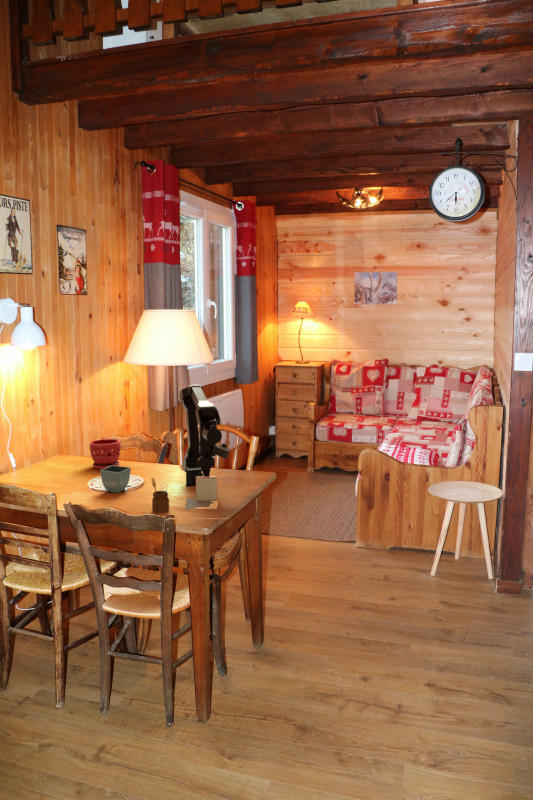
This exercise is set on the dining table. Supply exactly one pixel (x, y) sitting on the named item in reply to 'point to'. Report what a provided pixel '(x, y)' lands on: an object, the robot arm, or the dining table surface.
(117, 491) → the flower pot
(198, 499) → the block
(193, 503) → the slate mat
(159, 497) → the utensil holder
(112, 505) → the dining table surface
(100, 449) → the plant pot
